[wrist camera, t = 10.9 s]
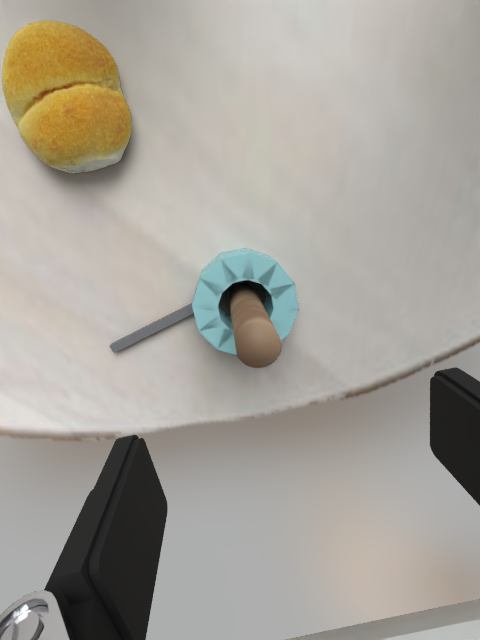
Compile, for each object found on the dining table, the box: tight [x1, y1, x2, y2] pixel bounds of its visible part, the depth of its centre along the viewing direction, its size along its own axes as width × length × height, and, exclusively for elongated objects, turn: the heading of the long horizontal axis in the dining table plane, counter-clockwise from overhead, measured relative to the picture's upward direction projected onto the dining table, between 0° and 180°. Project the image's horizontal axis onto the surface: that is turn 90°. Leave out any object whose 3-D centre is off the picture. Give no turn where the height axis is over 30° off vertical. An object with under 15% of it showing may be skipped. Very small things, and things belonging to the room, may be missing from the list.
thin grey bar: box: [110, 303, 194, 353], centre depth 29 cm, size 9×1×1 cm, turn 116°
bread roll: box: [2, 21, 131, 174], centre depth 22 cm, size 8×9×4 cm
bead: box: [192, 248, 299, 355], centre depth 27 cm, size 8×8×4 cm
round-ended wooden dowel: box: [228, 282, 282, 368], centre depth 23 cm, size 3×3×12 cm
